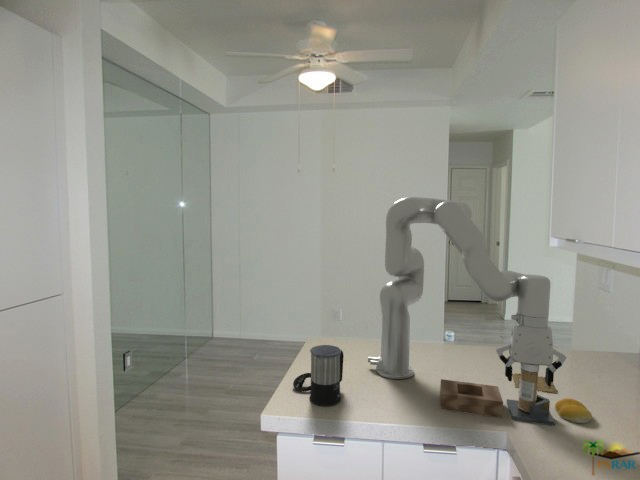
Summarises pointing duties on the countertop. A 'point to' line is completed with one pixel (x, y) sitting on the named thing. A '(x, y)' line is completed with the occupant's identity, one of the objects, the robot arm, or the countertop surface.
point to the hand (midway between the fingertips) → (528, 381)
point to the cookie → (540, 384)
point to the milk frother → (323, 375)
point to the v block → (532, 411)
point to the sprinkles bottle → (528, 386)
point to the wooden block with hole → (471, 398)
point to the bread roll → (573, 411)
